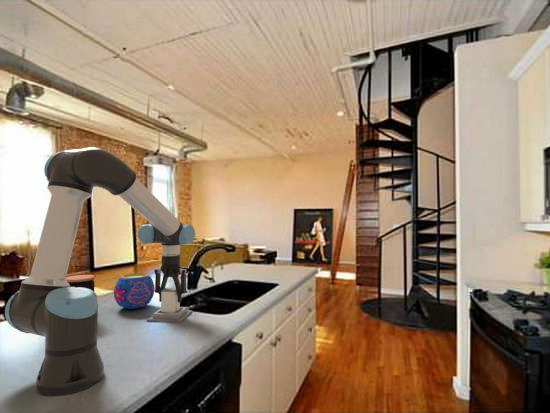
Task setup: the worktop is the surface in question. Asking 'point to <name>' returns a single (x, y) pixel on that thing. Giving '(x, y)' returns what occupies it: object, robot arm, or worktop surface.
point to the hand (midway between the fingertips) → (170, 309)
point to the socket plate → (170, 315)
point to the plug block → (168, 299)
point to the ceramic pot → (134, 290)
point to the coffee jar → (81, 281)
